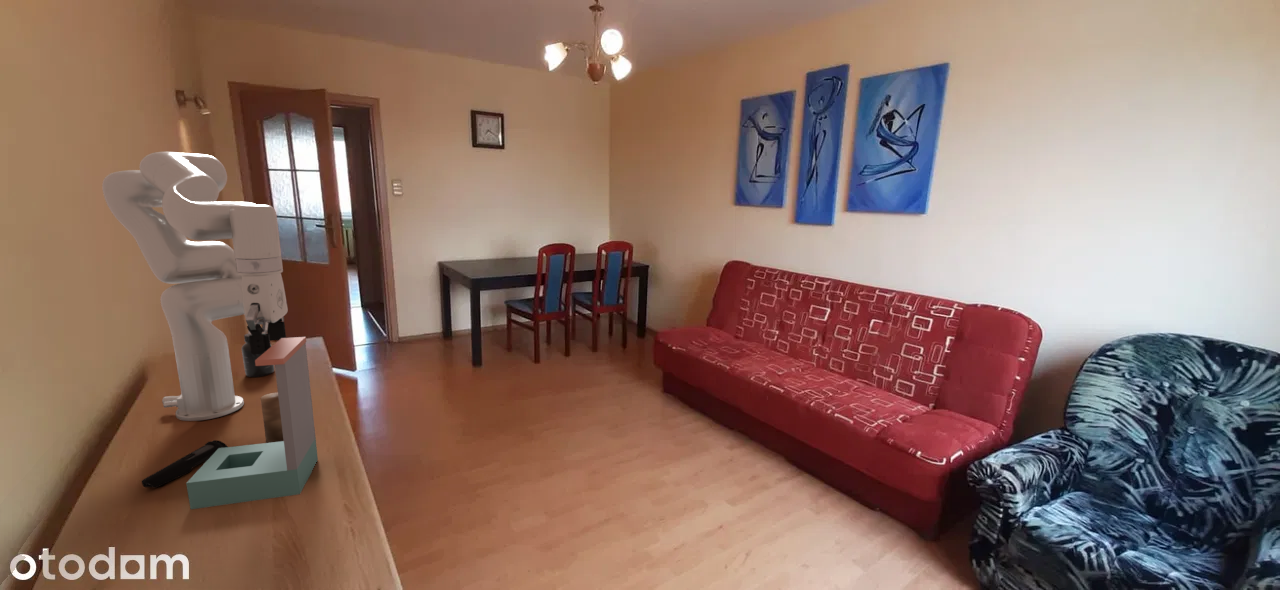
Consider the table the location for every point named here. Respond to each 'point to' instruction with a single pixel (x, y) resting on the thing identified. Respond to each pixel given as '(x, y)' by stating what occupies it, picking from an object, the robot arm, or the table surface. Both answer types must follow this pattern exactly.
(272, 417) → the walnut peg
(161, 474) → the electric trimmer
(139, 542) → the table surface
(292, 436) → the socket stand
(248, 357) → the supplement bottle
